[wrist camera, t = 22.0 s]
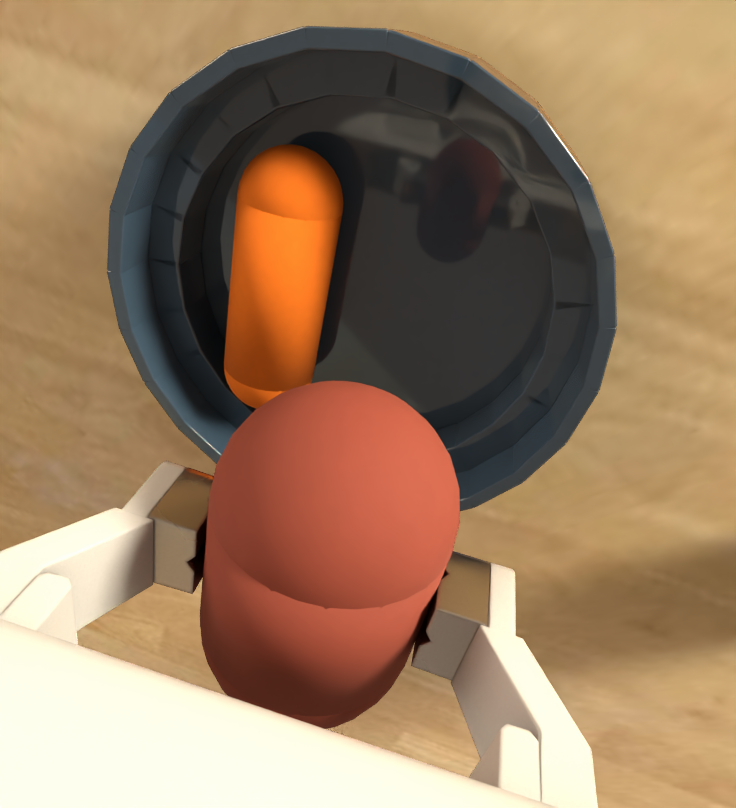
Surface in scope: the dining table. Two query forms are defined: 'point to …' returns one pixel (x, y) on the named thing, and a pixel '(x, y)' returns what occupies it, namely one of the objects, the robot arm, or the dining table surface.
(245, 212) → the carrot
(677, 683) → the dining table surface
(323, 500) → the sausage
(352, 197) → the bowl
